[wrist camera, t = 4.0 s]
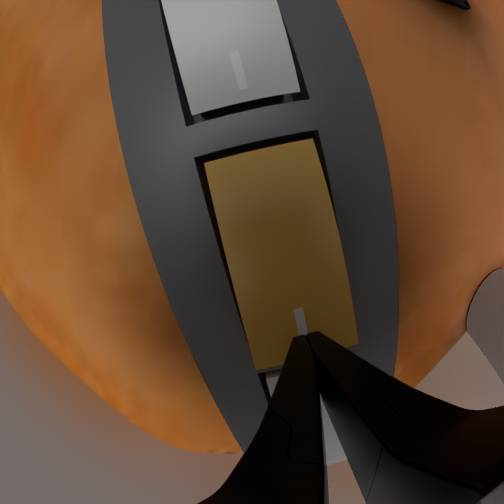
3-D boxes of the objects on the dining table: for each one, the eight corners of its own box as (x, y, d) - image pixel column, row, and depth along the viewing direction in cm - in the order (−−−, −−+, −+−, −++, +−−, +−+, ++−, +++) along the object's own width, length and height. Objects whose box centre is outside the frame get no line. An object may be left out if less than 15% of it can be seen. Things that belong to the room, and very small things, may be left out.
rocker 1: (247, -42, 6) (253, -66, 4) (286, 92, 10) (300, 91, 8) (162, -24, 6) (150, -45, 4) (198, 112, 10) (191, 115, 8)
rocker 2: (302, 157, 10) (312, 137, 8) (341, 325, 11) (359, 344, 8) (215, 177, 11) (203, 162, 8) (256, 346, 11) (255, 371, 9)
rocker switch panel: (285, -12, 10) (300, -61, 5) (362, 386, 18) (384, 433, 13) (132, 24, 10) (97, -15, 6) (247, 414, 19) (249, 466, 14)
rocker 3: (333, 341, 13) (346, 359, 11) (346, 435, 13) (355, 457, 11) (265, 358, 13) (265, 379, 11) (289, 449, 13) (292, 473, 11)
